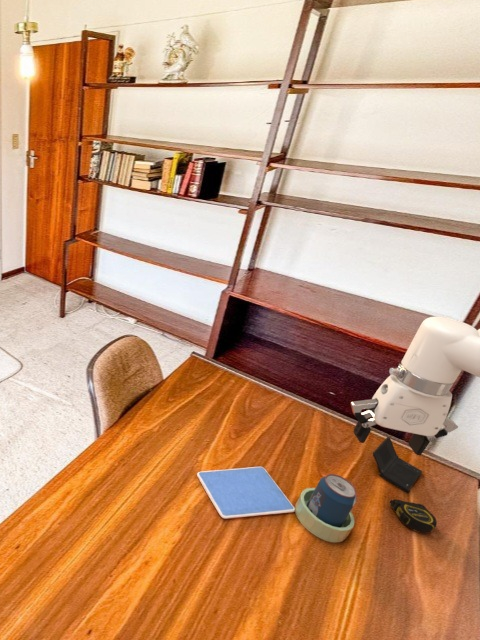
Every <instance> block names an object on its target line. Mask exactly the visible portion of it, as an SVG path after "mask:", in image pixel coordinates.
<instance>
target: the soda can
mask: <svg viewBox="0 0 480 640" xmlns="http://www.w3.org/2000/svg"><path fill="white" fill-rule="evenodd" d="M315 488H316V489H315V490H314V492H313V494H312V496H311V498H310V500H309V501H308V503H307V505H306V506H307V507H308V509H309V510H310V511H311V513H313V514H314V515H315V516H316V517H317V518H318V519H320V520H321V521H323V522H324V523H327V524H329V525H331V526H334V527H339V528H340V527H341V526H342V524H343V522H344V521H345V519H346V518H347V516H348V514H349V513H350V511H351V512H352V510H353V508H354V506H355V505H356V503H357V500H358V498H357V489H356V487H355V485H354V484H353V483H352V482H351V481H349V480H348V479H346V478H345V477H343V476H341V475H339V474H335V473H328V474H326V475H325V476H323V477H321V478H320V479H319V481H318V483H317V485H316V487H315Z"/></svg>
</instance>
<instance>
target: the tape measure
mask: <svg viewBox="0 0 480 640" xmlns="http://www.w3.org/2000/svg"><path fill="white" fill-rule="evenodd" d="M389 504H390V508H391V510H392V511H393V512H395V514H396V517H397V519H398V520H399V521H400V522H401V523H402V524H404V525H405V526H406V527H407V528H409V529H411V530H413V531H415V532H418V533H421V534H430V533H432V532H433V531H434V530H435V528H436V526H437V524H438V521H437V519H436V517H435V515H434V514H433V513H432V512H431V511H430V510H428V508H427V507H426V506H425V505H424V504H421V503H417V502H411V501H405V500H401V499H395V498H393V499H390V500H389Z"/></svg>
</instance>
